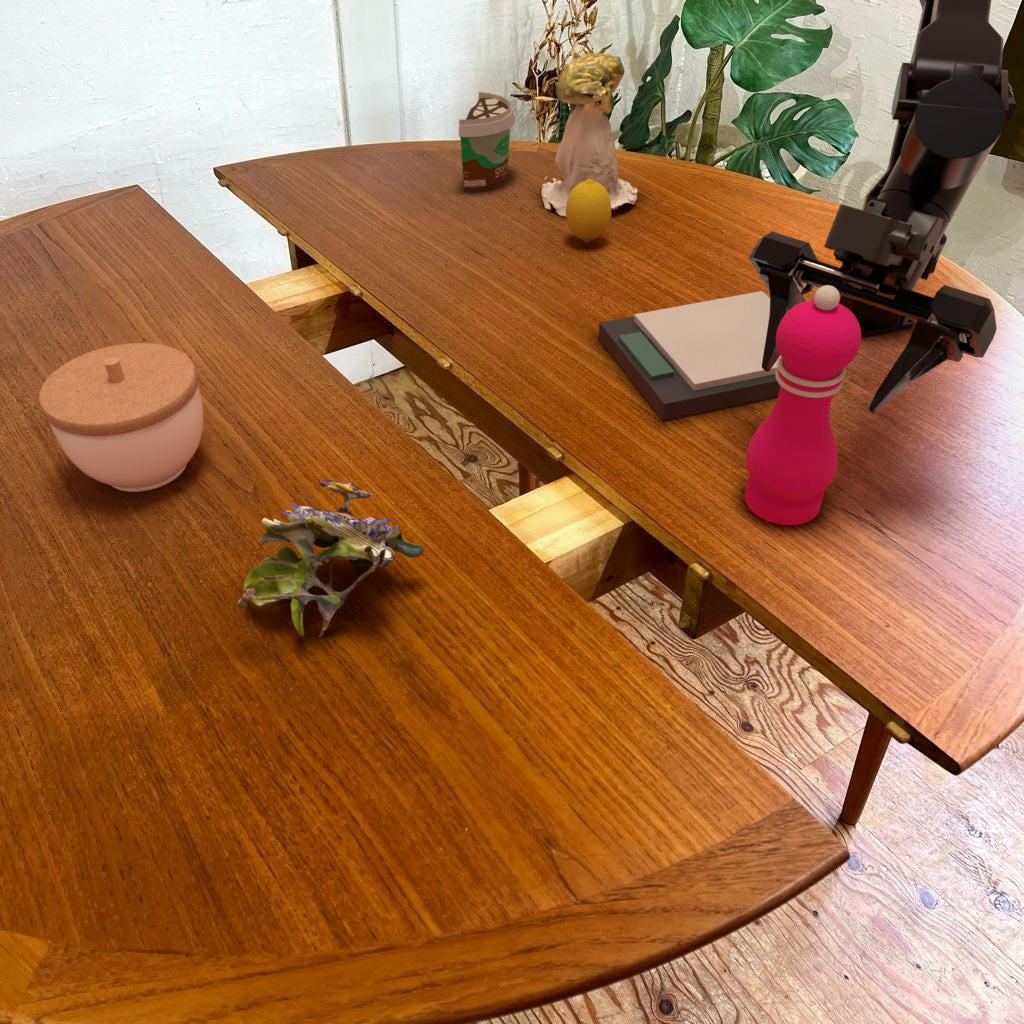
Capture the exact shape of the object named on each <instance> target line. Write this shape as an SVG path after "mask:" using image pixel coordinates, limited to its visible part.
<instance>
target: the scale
mask: <svg viewBox="0 0 1024 1024" xmlns="http://www.w3.org/2000/svg"><path fill="white" fill-rule="evenodd" d="M769 314H770V296H768V295H767V294H766V293H765V292H764V291H763V290H760V291H754V292H749V293H743V294H738V295H733V296H728V297H727V296H726V297H721V298H716V299H711V300H706V301H700V302H695V303H687V304H683V305H678V306H673V307H667V308H662V309H656V310H650V311H644V312H639V313H635V314H633V315H631V316H625V317H621V318H616V319H610V320H605V321H604V320H603V321H599V323H598V341H600V343H601V344H602V346H603V347H604V348H605V350H607V352H608V353H609V354H610V356H611V357H612V358H613V359H614V361H615V362H616V363H617V365H618V366H619V367H620V368H621V369H622V371H623V372H624V373H625V376H627V378H629V380H630V381H631V383H632V384H633V385H634V386H635V388H636V389H637V390H638V392H639V393H640V394H641V395H642V397H643V398H644V399H645V400H646V402H647V403H648V404H649V406H650V407H651V408H652V409H653V411H654V412H655V413H656V415H657V416H658V417H659V419H660V420H661V421H662V422H665V421H671V420H675V419H679V418H680V419H681V418H684V417H689V416H694V415H699V414H703V413H708V412H712V411H713V412H714V411H717V410H722V409H727V408H732V407H737V406H742V405H747V404H751V403H755V402H760V401H765V400H769V399H774V398H778V395H779V391H780V384H779V383H778V382H777V380H776V375H775V374H776V370H777V369H778V366H777V364H778V360H779V359H780V357H781V355H780V357H779V358H778V360H777V361H776V363H775V364H774V365H773V367H772V368H771V370H770V371H769V372H767V371H764V370H763V368H762V360H763V354H764V347H765V341H766V335H767V329H768V322H769Z"/></svg>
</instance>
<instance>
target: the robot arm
mask: <svg viewBox="0 0 1024 1024" xmlns="http://www.w3.org/2000/svg"><path fill="white" fill-rule="evenodd" d="M919 4H920V7H921V14H920V19H919V23H918V29H917V32H916V38H915V42H914V46H913V50H912V55H911V58H910V62H901V66H900V68H899V72H898V76H897V81H896V85H895V90H894V94H893V100H892V105H891V119H892V120H894V121H897V124H896V129H895V132H894V137H893V144H892V147H891V151H890V156H889V161H888V165H887V170H886V171H885V173H884V174H883V175H882V176H881V177H880V179H878V181H877V182H876V183H875V184H874V186H873V187H871V189H870V190H869V191H868V193H867V194H866V195H865V197H864V201H863V205H862V209H860V208H856V207H852V206H849V205H847V204H842V203H840V204H839V207H838V208H837V211H836V214H835V217H834V220H833V222H832V225H831V228H830V230H829V232H828V235H827V237H826V240H825V243H824V245H823V247H824V248H825V249H829V250H832V251H833V252H832V253H833V254H832V255H833V256H834V258H835V260H836V261H838V262H841V265H840V267H839V266H836V265H832V264H829V263H826V262H823V261H820V260H818V257H817V255H816V254H815V251H814V250H813V248H812V246H811V243H810V242H808V241H804V240H801V239H797V238H795V237H791V236H788V235H785V234H782V233H778V232H775V231H770V232H769V233H767V234H766V235H764V236H762V237H761V238H759V239H758V240H757V241H756V243H755V245H754V248H753V249H752V251H751V252H750V254H749V257H748V260H749V261H750V263H751V264H752V266H753V267H754V269H755V270H756V273H757V274H758V275H759V277H760V279H761V280H762V282H763V284H764V285H765V286H766V288H767V290H768V292H769V298H770V314H769V322H768V329H767V335H766V341H765V347H764V354H763V360H762V368H763V370H764V371H767V372H769V371H770V370H771V368H772V367H773V365H774V364H775V363H776V361H777V360H778V358H779V357H780V354H779V352H778V349H777V346H776V334H777V329H778V326H779V324H780V322H781V320H782V318H783V317H784V315H785V314H786V313H787V312H788V311H789V310H790V309H791V308H793V307H794V306H796V305H798V304H799V303H802V302H805V301H806V299H805V297H804V296H803V295H805V294H808V293H810V292H812V291H813V289H814V287H816V288H818V289H819V288H820V287H822V286H826V285H829V286H833V287H835V288H836V289H837V290H838V292H839V294H840V300H839V304H841V305H843V306H844V307H846V308H848V309H849V310H850V311H851V312H852V313H853V314H854V316H855V317H856V318H857V321H858V323H859V325H860V330H861V336H865V337H867V336H872V335H877V334H883V333H887V332H891V331H898V330H902V329H907V328H912V327H913V329H912V332H911V334H910V337H909V339H908V341H907V344H906V346H905V347H904V348H903V350H902V352H901V353H900V354H899V356H898V358H897V359H896V360H895V362H894V364H893V365H892V367H891V369H890V370H889V372H888V373H887V375H886V376H885V378H884V379H883V381H882V382H881V384H880V385H879V387H878V388H877V390H876V392H875V395H874V396H873V397H872V400H871V402H870V405H869V407H868V412H869V413H870V414H873V415H876V414H878V412H880V411H881V410H882V409H883V408H885V407H886V406H887V405H888V404H889V403H890V402H891V401H893V400H894V399H895V398H897V397H898V395H900V394H901V393H902V392H904V391H905V390H906V389H908V387H909V386H911V385H912V384H913V383H915V382H916V381H917V380H918V379H920V378H922V377H923V376H925V375H926V374H928V373H930V372H931V371H933V370H934V369H935V368H937V367H938V366H940V365H941V364H943V363H945V362H946V361H952V362H955V363H959V362H961V361H962V359H963V357H964V354H965V355H968V356H970V357H973V358H982V359H983V358H984V356H985V355H986V354H987V351H988V349H989V347H990V346H991V344H992V342H993V340H994V338H995V335H996V332H997V330H998V329H997V320H996V312H995V308H994V305H993V302H992V300H991V298H988V297H985V296H982V295H979V294H976V293H972V292H970V291H965V290H962V289H959V288H956V287H952V286H950V285H947V284H943V285H942V286H941V287H940V288H939V289H937V291H936V292H935V294H934V297H933V296H930V295H926V294H923V293H920V292H917V291H915V288H916V286H917V284H918V282H919V281H920V279H921V280H925V281H928V278H929V277H930V275H931V274H934V273H935V270H936V269H937V264H938V261H939V258H940V256H941V253H942V252H943V250H944V247H945V245H946V243H947V240H948V236H947V235H946V233H945V232H946V231H947V228H948V226H949V225H950V224H951V221H952V219H953V217H954V216H955V214H956V211H957V210H958V208H959V206H960V205H961V203H962V201H963V199H964V198H965V195H966V194H967V191H968V190H969V187H970V186H971V184H972V182H973V180H974V179H975V177H976V176H977V173H978V172H979V171H980V170H981V168H982V166H983V164H984V163H985V161H986V159H987V157H988V156H989V154H990V152H991V151H992V149H993V148H994V146H995V144H996V143H997V141H998V139H999V138H1000V136H1001V134H1002V132H1003V130H1004V127H1005V124H1006V121H1011V120H1012V117H1013V113H1014V110H1015V107H1016V101H1015V95H1014V91H1013V88H1012V86H1011V84H1010V83H1009V71H1008V69H1002V65H1003V54H1004V53H1003V52H1004V38H1003V37H1002V36H1001V34H1000V33H999V32H998V31H997V30H996V29H995V28H994V27H993V25H992V24H991V23H990V22H989V21H990V13H991V7H992V0H919Z"/></svg>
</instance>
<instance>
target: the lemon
mask: <svg viewBox="0 0 1024 1024" xmlns="http://www.w3.org/2000/svg"><path fill="white" fill-rule="evenodd" d="M611 218H612V208H611V201H610V197H609V194H608V192H607V190H606V189H605V188H604V187H603V186H602V185H601V184H600V183H598V182H595V181H593V179H587V180H586V181H584V182H581V183H579V184H578V185H576V186H575V187H574V188H573V189H572V191H571V192H570V195H569V197H568V201H567V205H566V217H565V220H566V224H567V227H568V229H569V230H570V232H571V233H572V234H573V235H574V236H575V237H577V238H578V239H580V240H582V242H584V243H587V244H588V243H589V244H590V243H591V242H592V241H593V240H595V239H598V238H600V237H601V236H602V235H604V233H605V232H606V231H607V230H608V227H609V226H610V223H611V220H612V219H611Z"/></svg>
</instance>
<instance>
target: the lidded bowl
mask: <svg viewBox="0 0 1024 1024" xmlns="http://www.w3.org/2000/svg"><path fill="white" fill-rule="evenodd" d="M195 365H196V364H195V363H194V361H193V360H192V359H191V357H189V355H187V354H186V353H184V352H183V351H181V350H179V349H178V348H175V347H172V346H169V345H166V344H160V343H152V342H151V343H150V342H131V343H122V344H115V345H110V346H105V347H101V348H99V349H94V350H92V351H89V352H86V353H84V354H81V355H79V356H76V357H74V358H72V359H71V360H68V361H67V362H65V363H64V364H62V365H61V366H59V367H58V368H57V369H55V370H54V371H53V372H52V373H51V374H50V375H49V376H48V377H47V378H46V379H45V381H44V382H43V384H42V386H41V388H40V391H39V392H38V403H39V407H40V410H41V412H42V414H43V416H44V418H45V419H46V420H47V422H48V424H49V427H50V430H51V431H52V434H53V436H54V438H55V440H56V441H57V443H58V444H59V446H60V448H61V450H62V451H63V452H64V454H65V455H66V457H67V458H68V460H69V461H70V462H71V463H72V464H73V465H74V466H75V467H76V468H77V469H78V470H80V471H81V472H82V473H83V474H84V475H86V476H88V477H90V478H91V479H93V480H94V481H97V482H100V483H102V484H105V485H108V486H111V487H112V488H113V489H116V490H118V491H122V492H127V493H128V492H129V493H139V492H147V491H151V490H155V489H158V488H161V487H164V486H165V485H168V484H169V483H172V482H173V481H175V480H176V479H177V478H178V477H179V476H181V474H182V473H183V472H184V471H185V470H186V468H187V465H188V463H190V462H191V460H192V458H193V457H194V455H195V454H196V452H197V450H198V448H199V445H200V443H201V441H202V438H203V437H202V436H203V431H204V417H205V416H204V415H205V414H204V407H203V406H204V405H203V400H202V399H203V398H202V395H201V391H200V387H199V378H198V372H197V368H196V366H195Z"/></svg>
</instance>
